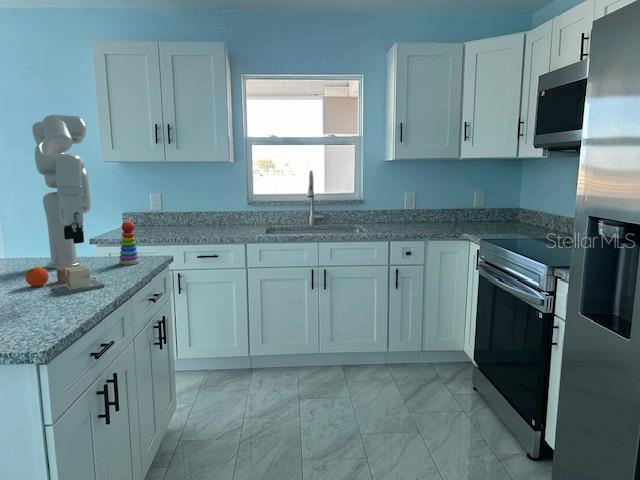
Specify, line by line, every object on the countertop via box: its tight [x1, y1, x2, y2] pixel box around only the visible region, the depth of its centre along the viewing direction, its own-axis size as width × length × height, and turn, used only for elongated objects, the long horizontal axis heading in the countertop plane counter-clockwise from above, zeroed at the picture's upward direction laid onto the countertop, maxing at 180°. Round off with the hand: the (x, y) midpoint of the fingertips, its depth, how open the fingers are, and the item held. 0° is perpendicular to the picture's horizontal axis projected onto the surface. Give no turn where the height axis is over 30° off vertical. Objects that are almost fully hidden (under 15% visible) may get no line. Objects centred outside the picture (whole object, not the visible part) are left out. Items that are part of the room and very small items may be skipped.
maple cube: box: [65, 265, 91, 288], centre depth 155 cm, size 6×6×6 cm
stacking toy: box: [118, 220, 140, 266], centre depth 194 cm, size 8×8×19 cm
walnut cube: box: [55, 267, 71, 285], centre depth 164 cm, size 5×5×5 cm
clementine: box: [22, 266, 49, 288], centre depth 157 cm, size 8×7×7 cm
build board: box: [51, 279, 105, 296], centre depth 155 cm, size 10×14×1 cm
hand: (74, 241), depth 153 cm, fingers open, 9 cm apart
